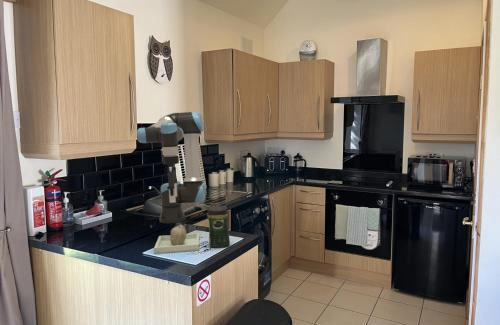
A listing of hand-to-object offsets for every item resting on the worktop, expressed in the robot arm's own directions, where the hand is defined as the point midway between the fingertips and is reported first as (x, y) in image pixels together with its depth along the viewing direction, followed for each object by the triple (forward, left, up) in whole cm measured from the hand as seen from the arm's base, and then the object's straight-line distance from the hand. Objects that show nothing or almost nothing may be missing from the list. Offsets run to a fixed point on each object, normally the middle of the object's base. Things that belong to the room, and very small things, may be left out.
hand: (173, 199), depth 185 cm
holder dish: (+8, +2, -21) cm, 22 cm away
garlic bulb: (+8, +2, -20) cm, 22 cm away
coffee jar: (+12, +21, -21) cm, 32 cm away
